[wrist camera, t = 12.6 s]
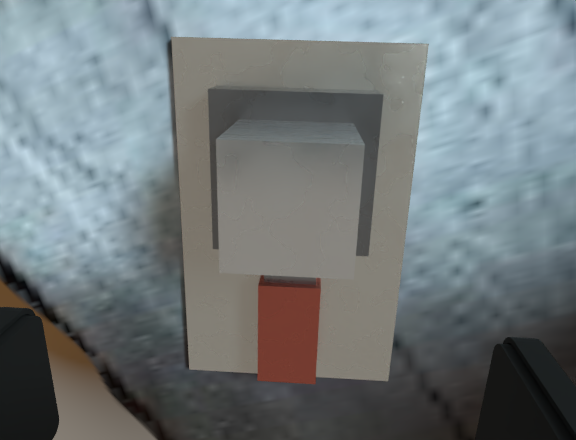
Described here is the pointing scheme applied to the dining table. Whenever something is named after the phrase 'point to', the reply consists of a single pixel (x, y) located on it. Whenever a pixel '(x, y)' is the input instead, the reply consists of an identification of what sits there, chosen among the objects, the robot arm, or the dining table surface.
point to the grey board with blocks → (372, 215)
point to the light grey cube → (289, 198)
